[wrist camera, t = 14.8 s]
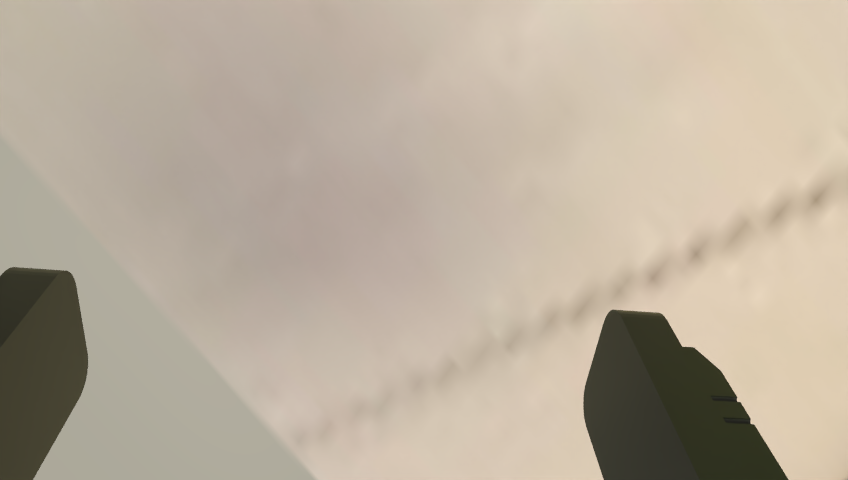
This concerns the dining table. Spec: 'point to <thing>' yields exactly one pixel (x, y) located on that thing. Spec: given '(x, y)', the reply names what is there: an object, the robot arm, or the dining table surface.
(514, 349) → the dining table surface
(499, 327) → the dining table surface
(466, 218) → the dining table surface
